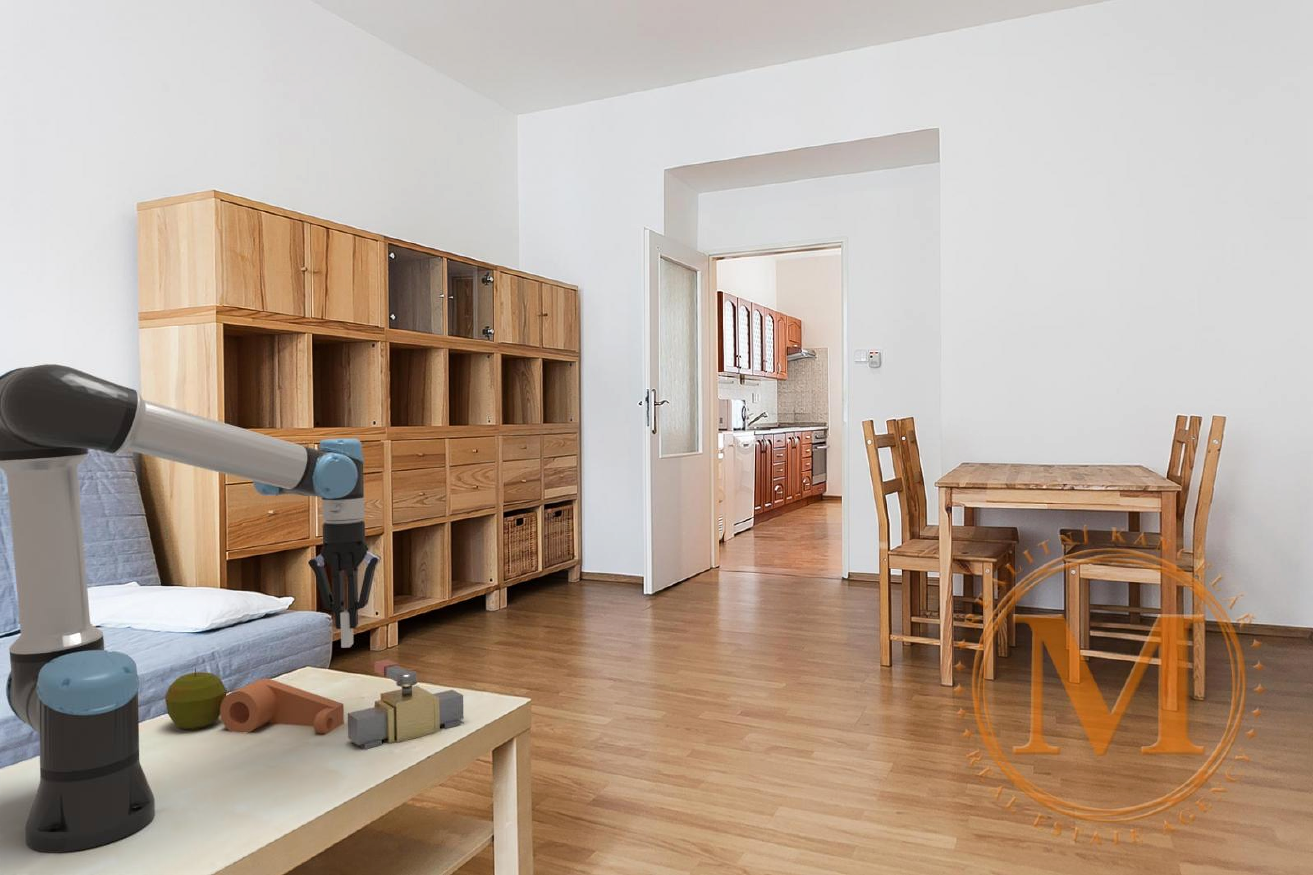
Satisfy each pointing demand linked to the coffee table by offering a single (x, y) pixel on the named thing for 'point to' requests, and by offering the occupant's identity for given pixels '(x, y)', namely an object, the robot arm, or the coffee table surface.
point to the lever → (396, 673)
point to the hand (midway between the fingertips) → (347, 645)
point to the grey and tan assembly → (405, 716)
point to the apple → (195, 700)
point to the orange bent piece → (279, 708)
